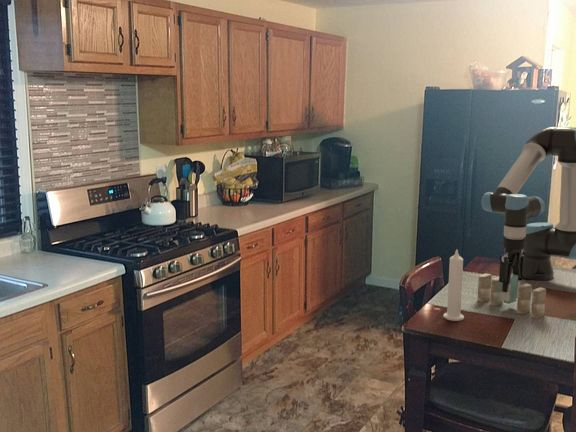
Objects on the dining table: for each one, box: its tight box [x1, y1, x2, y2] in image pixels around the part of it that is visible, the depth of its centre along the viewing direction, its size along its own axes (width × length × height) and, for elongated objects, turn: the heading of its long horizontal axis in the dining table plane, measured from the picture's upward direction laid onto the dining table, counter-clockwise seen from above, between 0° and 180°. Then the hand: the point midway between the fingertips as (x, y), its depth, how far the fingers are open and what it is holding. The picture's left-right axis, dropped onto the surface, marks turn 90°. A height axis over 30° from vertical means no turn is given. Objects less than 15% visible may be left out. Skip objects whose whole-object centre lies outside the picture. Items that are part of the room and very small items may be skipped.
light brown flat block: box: [477, 272, 492, 303], centre depth 225 cm, size 2×5×10 cm, turn 128°
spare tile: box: [503, 273, 518, 305], centre depth 216 cm, size 2×5×10 cm, turn 128°
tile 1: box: [530, 287, 547, 320], centre depth 208 cm, size 2×5×10 cm, turn 128°
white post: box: [443, 249, 465, 322], centre depth 206 cm, size 7×7×25 cm
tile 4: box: [489, 276, 504, 307], centre depth 221 cm, size 2×5×10 cm, turn 128°
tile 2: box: [516, 283, 533, 315], centre depth 212 cm, size 2×5×10 cm, turn 128°
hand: (510, 298), depth 216 cm, fingers closed on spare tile, 5 cm apart
